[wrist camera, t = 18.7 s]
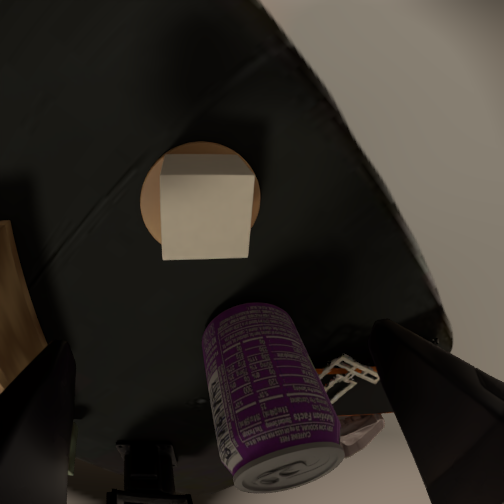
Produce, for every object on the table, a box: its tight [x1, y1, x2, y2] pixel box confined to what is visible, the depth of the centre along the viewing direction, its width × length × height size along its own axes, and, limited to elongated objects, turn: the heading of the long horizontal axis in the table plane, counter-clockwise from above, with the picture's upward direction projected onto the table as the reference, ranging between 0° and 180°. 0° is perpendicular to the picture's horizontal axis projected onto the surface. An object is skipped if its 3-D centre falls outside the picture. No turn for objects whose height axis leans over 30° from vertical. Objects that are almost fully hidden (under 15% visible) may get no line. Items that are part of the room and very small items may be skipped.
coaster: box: [140, 141, 260, 244], centre depth 19 cm, size 7×7×1 cm
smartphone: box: [315, 367, 394, 416], centre depth 27 cm, size 8×17×1 cm, turn 97°
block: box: [160, 154, 255, 260], centre depth 16 cm, size 4×4×4 cm
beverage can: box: [202, 302, 345, 493], centre depth 19 cm, size 7×7×12 cm
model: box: [318, 354, 380, 404], centre depth 27 cm, size 11×12×1 cm
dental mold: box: [337, 414, 385, 458], centre depth 31 cm, size 8×7×5 cm
